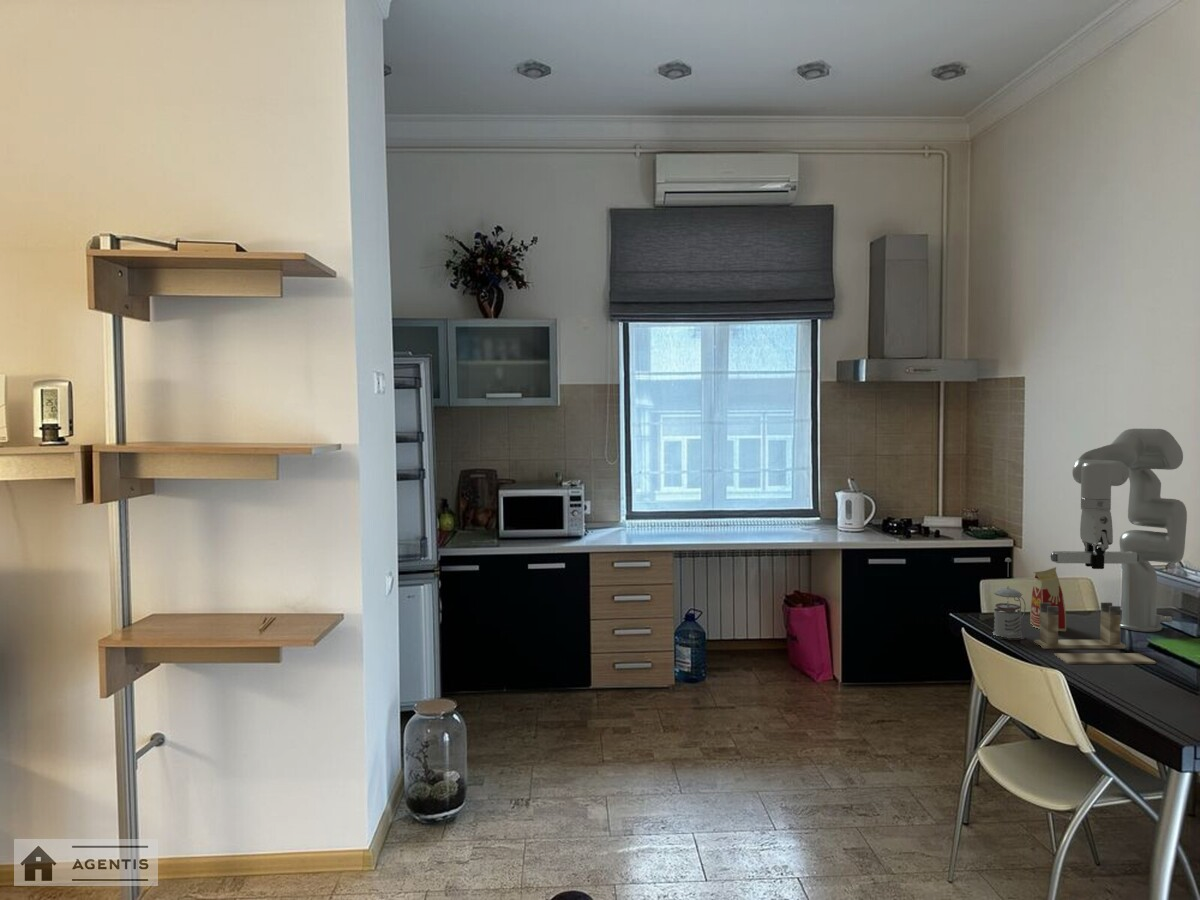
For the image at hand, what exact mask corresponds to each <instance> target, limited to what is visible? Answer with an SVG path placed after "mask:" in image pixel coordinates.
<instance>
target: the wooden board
mask: <svg viewBox="0 0 1200 900" xmlns="http://www.w3.org/2000/svg"><path fill="white" fill-rule="evenodd" d="M1053 654H1054V655H1055V656H1054V655H1053V656H1054V657H1056V656H1057V657H1056V658H1058V659H1059V658H1060V659H1059V660H1061V661H1062V660H1063V662H1064V663H1066V664H1068V665H1069V664H1071V665H1074V664H1075V665H1078V664H1079V665H1080V664H1083V665H1085V664H1086V665H1087V664H1089V665H1090V664H1091V665H1092V664H1093V665H1094V664H1096V665H1097V664H1102V665H1104V664H1105V665H1106V664H1108V665H1109V664H1110V665H1111V664H1113V665H1114V664H1115V665H1118V664H1119V665H1120V664H1123V665H1127V664H1131V665H1133V664H1135V665H1136V664H1137V665H1140V664H1141V665H1142V664H1143V665H1144V664H1145V665H1147V664H1149V665H1152V664H1153V665H1155V664H1156V663H1157V662H1156V661H1155V659H1154V660H1153V659H1151V658H1149V657H1147V656H1145V655H1144V654H1142V653H1140V652H1137V653H1135V652H1130V653H1128V652H1127V653H1125V652H1120V653H1119V652H1117V653H1115V652H1112V653H1111V652H1110V653H1109V652H1108V653H1106V652H1104V653H1101V652H1100V653H1099V652H1092V653H1091V652H1090V653H1088V652H1085V653H1083V652H1082V653H1081V652H1080V653H1079V652H1076V653H1075V652H1071V653H1070V652H1068V653H1065V652H1064V653H1063V652H1062V653H1061V652H1059V653H1058V652H1056V653H1055V652H1054V653H1053Z"/></svg>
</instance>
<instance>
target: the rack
mask: <svg viewBox="0 0 1200 900" xmlns="http://www.w3.org/2000/svg"><path fill="white" fill-rule="evenodd" d="M1058 609H1059V607H1058V606H1051V603H1040V630H1039V639H1034V640H1033V643H1034V642H1035V643H1037V644H1038V645H1040V646H1041V648H1042V649H1126V648H1127V645H1126V644H1125V643H1123V642H1121V627H1120V623H1121V619H1122V606H1121V605H1113V602H1100V620H1099V621H1100V624H1099V625H1100V630H1099V635H1100V636H1099V639H1059V631H1058ZM1035 643H1034V644H1035ZM1037 644H1036V645H1037ZM1038 645H1037V646H1038ZM1040 646H1039V647H1040Z"/></svg>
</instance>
